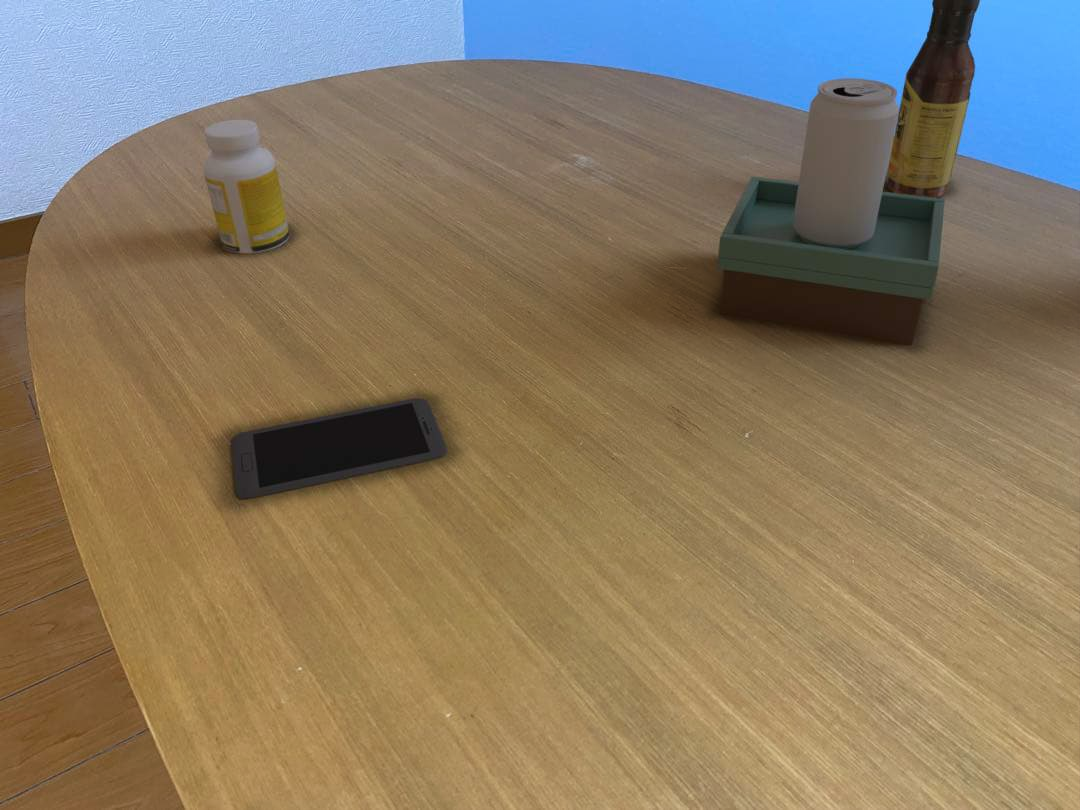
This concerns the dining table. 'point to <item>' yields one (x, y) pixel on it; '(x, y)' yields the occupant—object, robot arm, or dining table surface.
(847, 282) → the storage box
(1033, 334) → the dining table surface
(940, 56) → the sauce bottle
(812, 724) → the dining table surface
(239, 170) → the pill bottle
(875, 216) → the beverage can
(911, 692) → the dining table surface
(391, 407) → the cell phone
